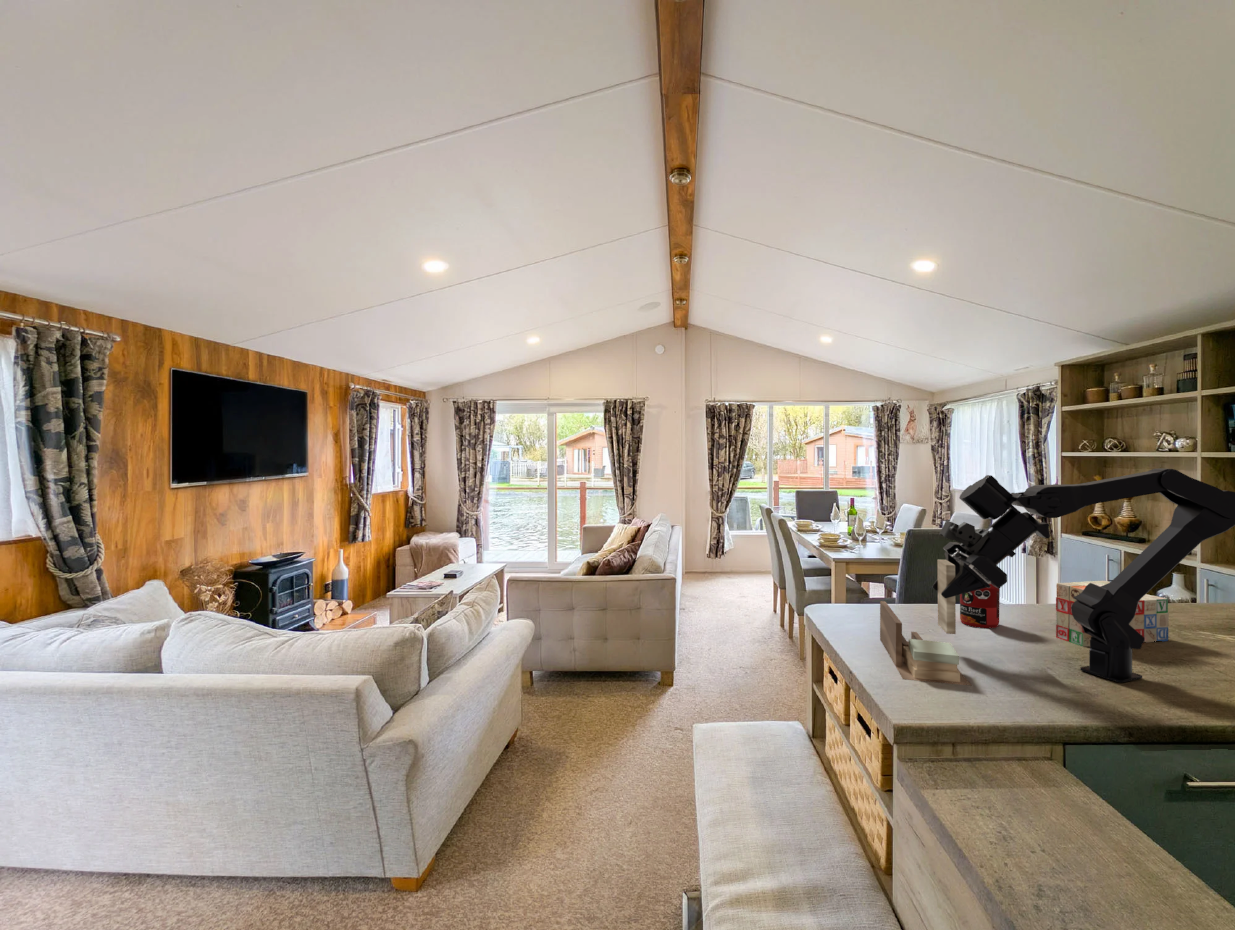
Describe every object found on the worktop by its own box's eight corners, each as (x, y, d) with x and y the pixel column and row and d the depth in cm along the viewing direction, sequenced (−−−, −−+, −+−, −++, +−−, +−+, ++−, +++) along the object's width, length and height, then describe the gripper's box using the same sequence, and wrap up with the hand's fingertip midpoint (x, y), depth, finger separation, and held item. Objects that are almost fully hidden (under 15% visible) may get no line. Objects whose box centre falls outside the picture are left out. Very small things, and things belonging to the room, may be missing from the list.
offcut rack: (935, 650, 116) (936, 604, 116) (971, 694, 95) (972, 637, 95) (880, 646, 119) (880, 601, 119) (902, 687, 98) (903, 632, 98)
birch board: (946, 625, 113) (945, 559, 113) (955, 634, 107) (955, 565, 107) (937, 624, 114) (937, 559, 113) (946, 633, 108) (946, 565, 108)
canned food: (952, 621, 137) (952, 575, 137) (977, 618, 140) (977, 573, 140) (981, 630, 130) (981, 582, 130) (1007, 627, 132) (1007, 579, 132)
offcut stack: (948, 665, 104) (948, 640, 104) (963, 682, 96) (963, 656, 96) (901, 661, 106) (901, 637, 106) (912, 678, 98) (912, 652, 98)
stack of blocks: (1138, 633, 128) (1138, 578, 128) (1169, 642, 122) (1169, 584, 122) (1055, 637, 125) (1055, 581, 125) (1082, 647, 119) (1083, 588, 119)
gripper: (953, 502, 118) (896, 554, 121) (986, 511, 100) (917, 571, 103) (997, 541, 116) (937, 593, 119) (1038, 557, 98) (966, 617, 101)
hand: (938, 592), depth 111 cm, fingers closed on birch board, 6 cm apart
